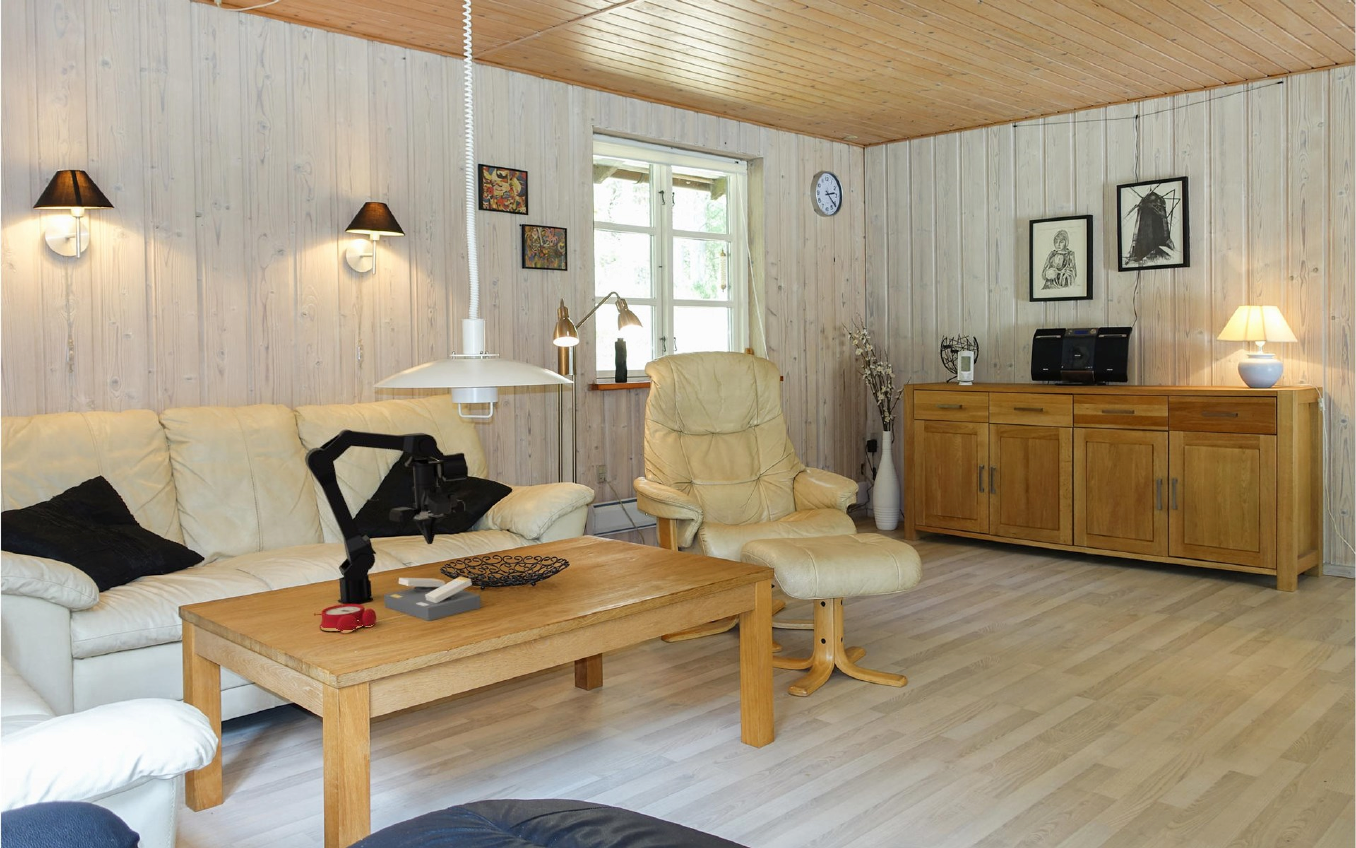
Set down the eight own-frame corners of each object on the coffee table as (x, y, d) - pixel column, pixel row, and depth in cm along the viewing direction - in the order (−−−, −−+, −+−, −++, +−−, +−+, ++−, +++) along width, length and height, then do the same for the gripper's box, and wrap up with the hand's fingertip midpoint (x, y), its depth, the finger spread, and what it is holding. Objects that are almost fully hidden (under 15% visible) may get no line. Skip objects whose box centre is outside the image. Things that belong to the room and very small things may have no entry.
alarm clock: (346, 602, 237) (384, 595, 228) (351, 628, 237) (389, 623, 227) (306, 612, 229) (343, 606, 219) (311, 640, 228) (349, 635, 219)
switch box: (428, 621, 230) (427, 605, 230) (385, 607, 245) (384, 592, 244) (481, 607, 240) (480, 592, 240) (436, 595, 254) (435, 580, 254)
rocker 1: (407, 586, 242) (408, 579, 242) (398, 583, 245) (399, 577, 245) (444, 587, 249) (445, 580, 249) (434, 584, 252) (435, 578, 252)
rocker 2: (436, 603, 234) (434, 597, 233) (426, 600, 237) (424, 594, 236) (471, 584, 240) (470, 578, 240) (461, 581, 243) (460, 576, 243)
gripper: (409, 490, 245) (413, 554, 246) (475, 480, 258) (478, 541, 259) (386, 487, 253) (390, 549, 254) (451, 477, 266) (455, 536, 267)
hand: (429, 544), depth 258 cm, fingers closed
